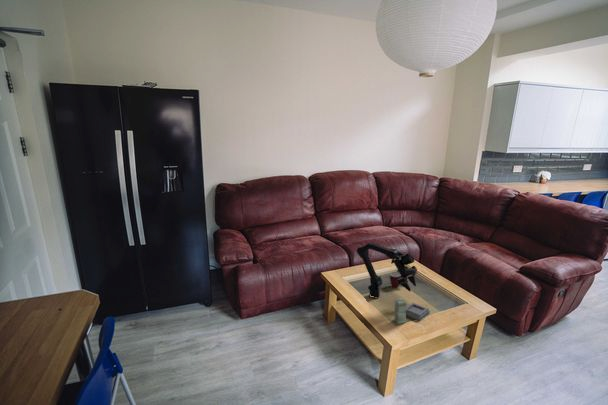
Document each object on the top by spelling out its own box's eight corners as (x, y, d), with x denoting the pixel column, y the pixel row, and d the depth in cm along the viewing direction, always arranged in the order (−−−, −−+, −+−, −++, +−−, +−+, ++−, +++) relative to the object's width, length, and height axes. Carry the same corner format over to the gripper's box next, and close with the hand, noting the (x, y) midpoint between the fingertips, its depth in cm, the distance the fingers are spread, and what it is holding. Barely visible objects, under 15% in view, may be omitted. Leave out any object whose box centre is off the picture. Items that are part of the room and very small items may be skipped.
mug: (403, 285, 231) (404, 273, 229) (403, 289, 224) (404, 277, 222) (390, 283, 235) (390, 272, 233) (389, 288, 227) (389, 276, 225)
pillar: (394, 319, 185) (394, 299, 183) (401, 318, 186) (401, 298, 184) (398, 324, 180) (398, 303, 178) (405, 322, 181) (406, 301, 179)
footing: (403, 313, 191) (403, 308, 191) (412, 307, 199) (412, 302, 198) (420, 321, 182) (420, 315, 182) (429, 313, 190) (429, 308, 189)
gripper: (405, 267, 186) (418, 290, 182) (416, 259, 199) (428, 280, 196) (391, 273, 193) (403, 295, 189) (403, 264, 206) (414, 284, 203)
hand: (412, 288), depth 194 cm, fingers open, 9 cm apart
